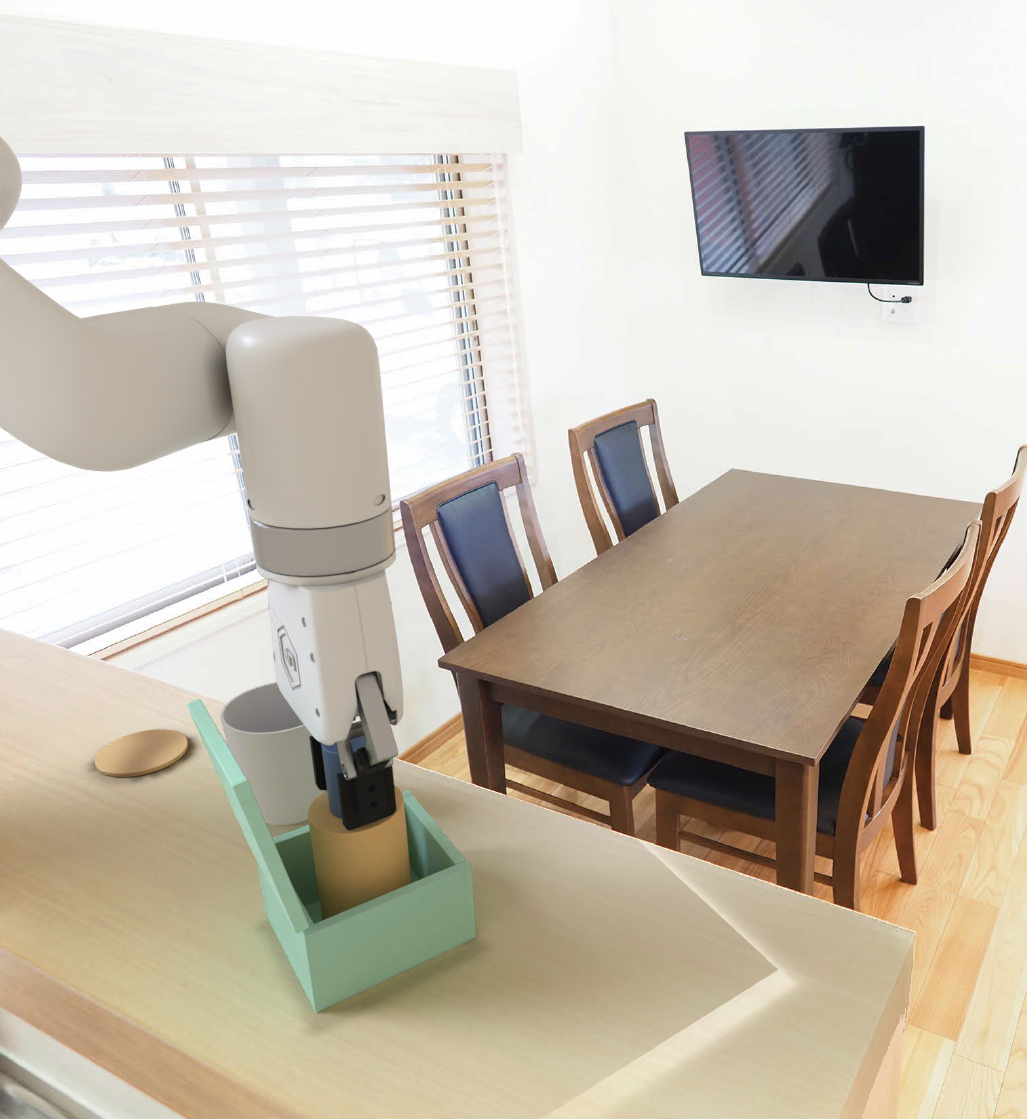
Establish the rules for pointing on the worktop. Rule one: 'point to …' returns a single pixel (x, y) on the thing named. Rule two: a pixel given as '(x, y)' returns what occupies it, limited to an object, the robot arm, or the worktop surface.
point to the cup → (272, 753)
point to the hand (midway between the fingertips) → (355, 798)
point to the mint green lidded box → (374, 914)
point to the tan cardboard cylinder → (355, 846)
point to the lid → (248, 815)
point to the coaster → (141, 753)
